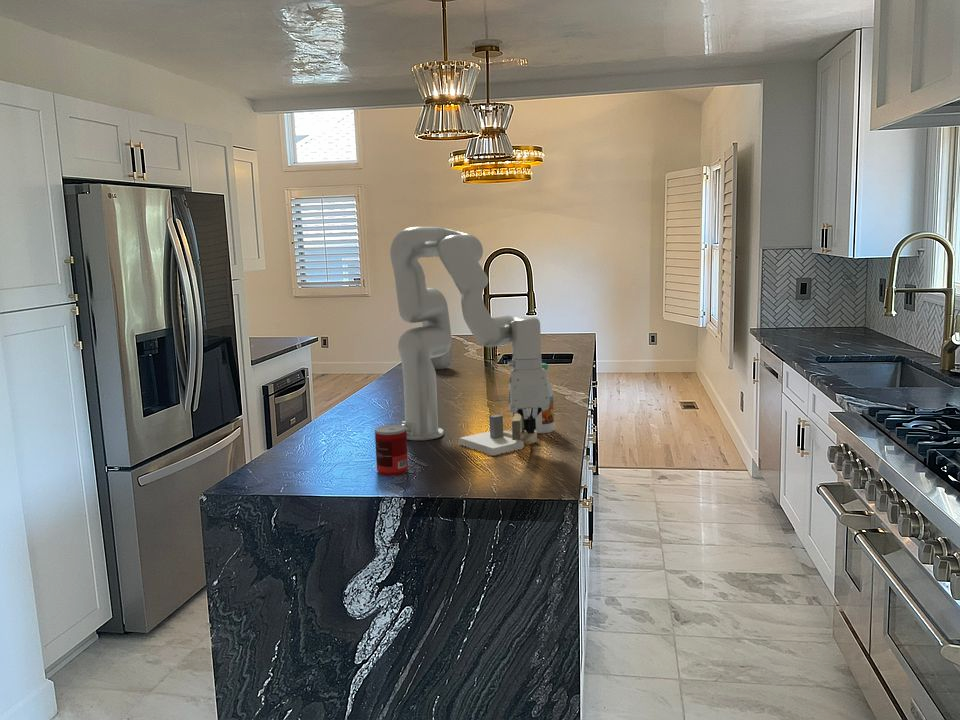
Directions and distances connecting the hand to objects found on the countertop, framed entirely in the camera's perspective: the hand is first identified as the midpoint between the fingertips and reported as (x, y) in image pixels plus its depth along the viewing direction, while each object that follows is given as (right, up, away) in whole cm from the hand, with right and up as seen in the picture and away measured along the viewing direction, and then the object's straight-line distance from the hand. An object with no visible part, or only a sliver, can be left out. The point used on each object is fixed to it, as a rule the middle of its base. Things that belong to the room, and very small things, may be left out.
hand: (529, 432), depth 211 cm
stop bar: (-3, -1, +5) cm, 6 cm away
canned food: (-35, -9, -14) cm, 39 cm away
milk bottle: (+5, -2, +22) cm, 22 cm away
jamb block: (-2, -4, +10) cm, 11 cm away
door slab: (-10, -4, +6) cm, 13 cm away
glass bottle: (-31, +15, +135) cm, 140 cm away
